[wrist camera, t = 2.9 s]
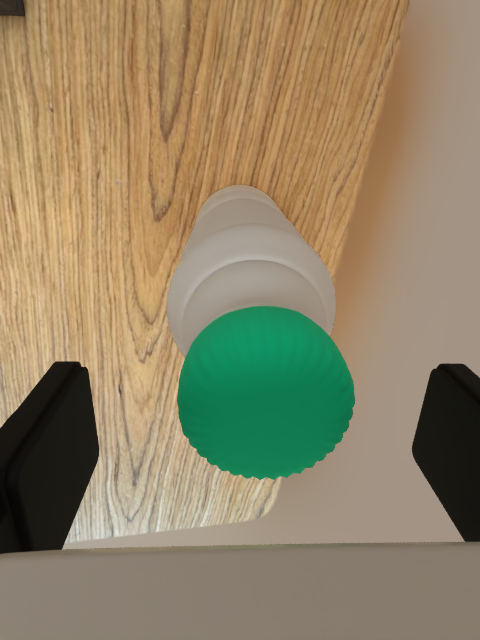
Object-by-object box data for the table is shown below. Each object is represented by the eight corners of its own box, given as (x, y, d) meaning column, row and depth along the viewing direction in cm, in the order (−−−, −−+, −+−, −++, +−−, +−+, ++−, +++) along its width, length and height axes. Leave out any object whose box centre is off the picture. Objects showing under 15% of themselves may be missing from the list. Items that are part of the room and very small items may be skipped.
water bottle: (183, 250, 33) (90, 481, 10) (215, 168, 31) (184, 236, 8) (259, 282, 35) (324, 548, 12) (296, 205, 32) (469, 356, 9)
